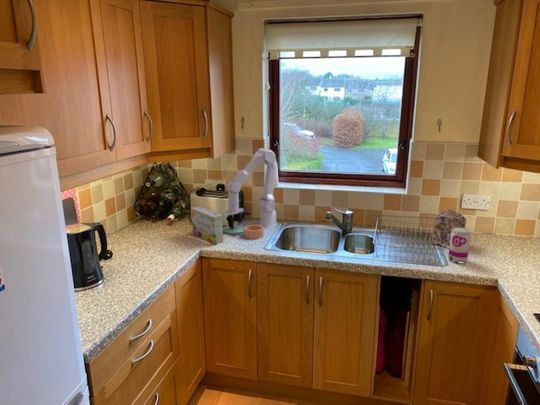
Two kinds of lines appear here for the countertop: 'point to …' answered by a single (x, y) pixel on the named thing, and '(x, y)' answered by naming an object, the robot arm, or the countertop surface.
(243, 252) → the countertop surface
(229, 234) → the mat
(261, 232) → the bucket
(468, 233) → the supplement can
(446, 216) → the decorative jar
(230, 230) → the lid
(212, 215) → the snack box
